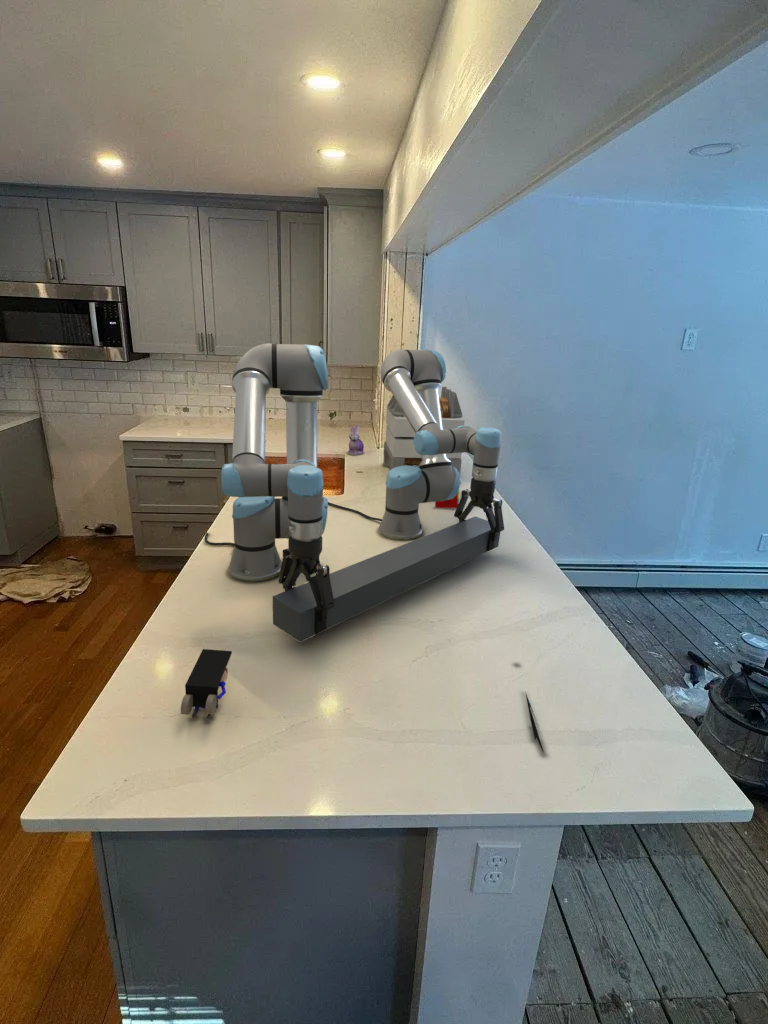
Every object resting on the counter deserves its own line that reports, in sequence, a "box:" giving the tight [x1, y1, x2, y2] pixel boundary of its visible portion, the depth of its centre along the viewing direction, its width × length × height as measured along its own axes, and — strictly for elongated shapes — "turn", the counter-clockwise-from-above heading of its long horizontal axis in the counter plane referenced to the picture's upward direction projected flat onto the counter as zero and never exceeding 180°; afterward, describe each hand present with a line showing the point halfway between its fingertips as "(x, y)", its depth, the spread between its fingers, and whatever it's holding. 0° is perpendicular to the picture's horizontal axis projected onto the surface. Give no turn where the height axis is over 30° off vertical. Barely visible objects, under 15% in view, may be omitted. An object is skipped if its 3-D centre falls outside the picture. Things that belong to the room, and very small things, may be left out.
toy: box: [434, 490, 460, 509], centre depth 239 cm, size 12×13×30 cm
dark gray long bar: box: [272, 516, 501, 643], centre depth 157 cm, size 82×10×8 cm, turn 137°
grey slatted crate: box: [383, 386, 465, 475], centre depth 268 cm, size 34×33×41 cm
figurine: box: [348, 424, 365, 456], centre depth 304 cm, size 9×10×15 cm
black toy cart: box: [180, 648, 233, 720], centre depth 111 cm, size 7×8×15 cm
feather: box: [525, 691, 547, 753], centre depth 115 cm, size 2×28×2 cm
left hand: (305, 621), depth 134 cm, fingers closed on dark gray long bar, 10 cm apart
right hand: (475, 544), depth 182 cm, fingers closed on dark gray long bar, 10 cm apart
